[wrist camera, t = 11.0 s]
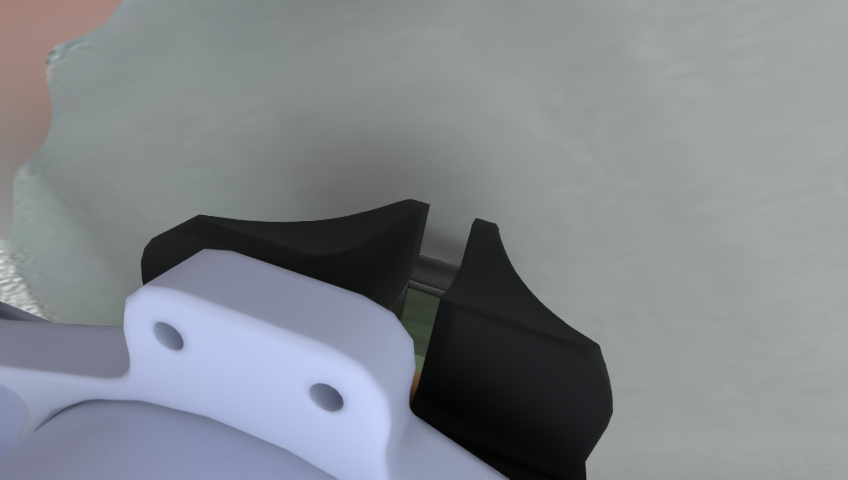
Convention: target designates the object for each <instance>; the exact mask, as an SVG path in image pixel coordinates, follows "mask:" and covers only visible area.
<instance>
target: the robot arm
mask: <svg viewBox="0 0 848 480" xmlns="http://www.w3.org/2000/svg"><path fill="white" fill-rule="evenodd" d="M429 206H430V204H426V203H423V202H420V201H416V200H413V199H407V200H403V201H400V202H396V203H393V204H390V205H387V206H383V207H380V208H377V209H374V210H370V211H366V212H362V213H358V214H354V215H350V216H345V217H339V218H333V219H326V220H317V221H299V222H263V221H247V220H237V219H229V218H221V217H214V216H206V215H197V216H195V217H193V218H191V219H189V220H187V221H185V222H184V223H182V224H180V225H178V226H176V227H174V228H172V229H170V230H168V231H166V232H164V233H162V234H160V235H158V236H156V237H154V238H152V239H151V241H150V242H149V243H148V244H147V246H146V247H145V248H144V252H143V256H142V259H141V271H142V281H143V286H142V287H141V288H139V289H138V290H137V291H135V292H134V293H132V294H131V295H130V296H128V297H127V298H126V301H125V313H124V326H123V327H111V326H95V325H79V324H63V323H53V322H50V321H48V320H45V319H43V318H40V317H38V316H35V315H33V314H30V313H28V312H25V311H23V310H20V309H18V308H16V307H13V306H11V305H8V304H6V303H3V302H1V301H0V480H586V466H585V461H586V460H587V458H588V457H589V455H590V454H591V452H592V450H593V449H594V447H595V446H596V444H597V442H598V441H599V439H600V438H601V436H602V434H603V433H604V431H605V430H606V428H607V426H608V424H609V421H610V418H611V416H612V413H613V400H612V391H611V385H610V379H609V376H608V372H607V368H606V364H605V362H604V359H603V356H602V353H601V349H600V346H599V344H597V343H595V342H594V341H592V340H591V339H589V338H588V337H586V336H584V335H583V334H581V333H580V332H578V331H577V330H575V329H573V328H572V327H570V326H569V325H568V324H566V323H565V322H564V321H562V320H561V319H560V318H559V317H557V316H556V315H555V314H554V313H552V312H551V311H550V310H549V309H548V308H547V307H546V306H545V305H543V304H542V303H541V302H540V301H539V299H538V298H537V297H536V296H535V295H534V294H533V293H532V292H531V291H530V290H529V289H528V288H527V286H526V285H525V284H524V282H523V281H522V280H521V278H520V277H519V276H518V274H517V273H516V271H515V270H514V268H513V266H512V264H511V262H510V260H509V258H508V256H507V254H506V251H505V249H504V246H503V244H502V241H501V238H500V234H499V228H498V226H497V224H495V223H491V222H488V221H485V220H481V219H478V218H476V219H475V220H474V222H473V224H472V227H471V231H470V235H469V238H468V242H467V245H466V249H465V253H464V256H463V260H462V264H461V267H460V270H459V272H458V273H457V275H456V277H455V279H454V281H453V282H452V284H451V286H450V287H449V289H448V290H447V291H446V292H445V294H444V295H443V296H442V297H441V298H440V302H439V306H438V310H437V313H436V317H435V321H434V325H433V329H432V333H431V337H430V341H429V344H428V348H427V352H426V356H425V360H424V364H423V368H422V372H421V375H420V379H419V383H418V387H417V390H416V392H415V395H414V398H413V400H412V403H411V405H410V406H409V396H410V389H411V385H412V381H413V377H414V373H415V369H416V363H415V353H414V343H413V339H412V338H411V337H410V335H409V334H408V332H407V331H406V330H405V328H404V327H403V325H402V324H401V323H400V321H399V320H398V319H397V317H396V316H395V314H394V313H392V312H391V311H389V310H390V308H391V307H392V305H393V304H394V302H395V301H396V299H397V298H398V296H399V295H400V294H401V292H402V291H403V289H404V288H405V286H406V285H407V283H408V281H409V279H410V277H411V274H412V272H413V270H414V268H415V266H416V264H417V262H418V258H419V253H420V248H421V244H422V239H423V234H424V230H425V225H426V220H427V215H428V211H429Z"/></svg>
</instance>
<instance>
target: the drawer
mask: <svg viewBox="0 0 848 480" xmlns="http://www.w3.org/2000/svg"><path fill="white" fill-rule="evenodd" d="M459 270H460V267H458V266H455V265H451V264H448V263H445V262H442V261H439V260H435V259H432V258H429V257H426V256H423V255H420V254H419V258H418V262H417V264H416V266H415V268H414V270H413V272H412V274H411V277H410V279H409V281H410V280H412V281H415V282H418V283H421V284H424V285H427V286H430V287H433V288H436V289H439V290H442V291H447V290H448V289H449V287H450V286H451V284H452V282H453V281H454V279H455V277H456V275H457V273H458V272H459ZM409 281H408V283H407V285H406V286H405V288H404V289H403V291H402V292H401V294H400V295H399V296H398V298H397V299H396V301H395V302H394V304H393V305H392V307H391V308H390V310H389V311H391V312H392V313H394V314H395V316H396V317H397V319H398V320H399V321H400V323H401V324H402V325H403V327H404V328H405V330H406V331H407V332H408V334H409V335H410V337H411V338H412V339H413V343H414V353H415V363H416V369H415V373H414V377H413V381H412V385H411V389H410V396H409V406H410V405H411V403H412V400H413V398H414V395H415V392H416V390H417V387H418V383H419V379H420V375H421V372H422V368H423V364H424V360H425V356H426V352H427V348H428V344H429V341H430V337H431V333H432V329H433V325H434V321H435V317H436V313H437V310H438V306H439V302H440V298H438V297H435V296H432V295H429V294H426V293H423V292H420V291H417V290H414V289H411V288H408V286H409Z"/></svg>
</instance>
